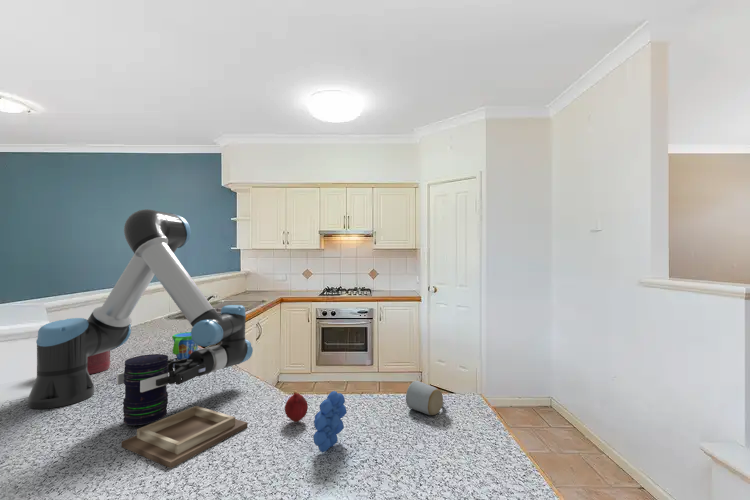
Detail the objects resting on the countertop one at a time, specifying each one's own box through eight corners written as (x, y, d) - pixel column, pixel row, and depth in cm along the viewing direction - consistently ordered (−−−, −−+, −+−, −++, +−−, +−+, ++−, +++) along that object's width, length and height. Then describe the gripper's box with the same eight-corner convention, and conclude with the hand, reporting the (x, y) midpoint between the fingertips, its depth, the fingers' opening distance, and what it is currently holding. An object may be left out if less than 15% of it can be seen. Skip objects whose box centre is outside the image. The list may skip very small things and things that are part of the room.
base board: (121, 446, 82) (121, 432, 82) (200, 412, 99) (200, 401, 99) (170, 468, 73) (170, 452, 73) (247, 427, 91) (247, 414, 91)
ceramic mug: (429, 420, 94) (430, 391, 95) (405, 411, 100) (405, 383, 100) (450, 408, 102) (451, 381, 102) (426, 401, 108) (426, 375, 108)
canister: (116, 369, 139) (117, 323, 139) (75, 378, 128) (75, 328, 128) (102, 363, 146) (102, 319, 146) (61, 372, 135) (62, 325, 135)
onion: (311, 418, 96) (311, 388, 96) (300, 428, 90) (300, 396, 90) (292, 415, 97) (292, 386, 98) (280, 425, 92) (280, 393, 92)
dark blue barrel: (119, 428, 88) (120, 366, 88) (125, 412, 96) (126, 356, 97) (166, 420, 92) (167, 361, 93) (168, 406, 101) (169, 352, 101)
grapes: (328, 431, 89) (328, 382, 89) (352, 437, 86) (352, 386, 86) (299, 454, 78) (299, 399, 78) (325, 462, 75) (325, 404, 75)
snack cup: (188, 352, 163) (188, 330, 163) (209, 353, 161) (209, 330, 161) (161, 362, 147) (162, 337, 147) (184, 364, 145) (184, 338, 145)
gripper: (232, 379, 105) (155, 407, 85) (183, 367, 116) (104, 389, 96) (232, 353, 105) (155, 375, 86) (183, 343, 116) (105, 361, 96)
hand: (128, 382), depth 91 cm, fingers closed on dark blue barrel, 10 cm apart
